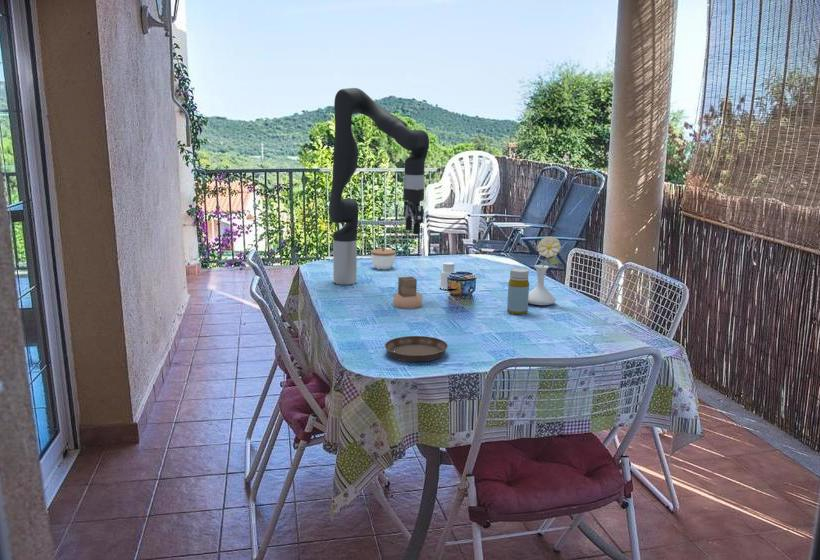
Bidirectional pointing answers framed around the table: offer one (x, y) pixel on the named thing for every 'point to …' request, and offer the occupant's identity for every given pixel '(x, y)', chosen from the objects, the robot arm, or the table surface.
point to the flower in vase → (540, 293)
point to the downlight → (446, 273)
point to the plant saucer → (416, 348)
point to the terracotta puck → (408, 301)
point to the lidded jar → (383, 258)
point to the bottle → (518, 291)
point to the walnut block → (407, 286)
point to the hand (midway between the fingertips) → (412, 231)
